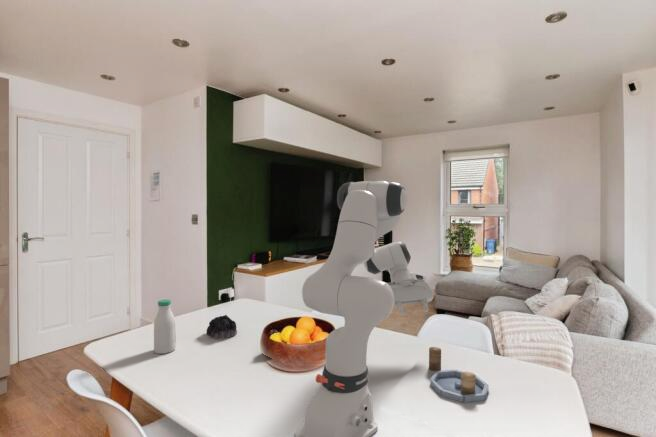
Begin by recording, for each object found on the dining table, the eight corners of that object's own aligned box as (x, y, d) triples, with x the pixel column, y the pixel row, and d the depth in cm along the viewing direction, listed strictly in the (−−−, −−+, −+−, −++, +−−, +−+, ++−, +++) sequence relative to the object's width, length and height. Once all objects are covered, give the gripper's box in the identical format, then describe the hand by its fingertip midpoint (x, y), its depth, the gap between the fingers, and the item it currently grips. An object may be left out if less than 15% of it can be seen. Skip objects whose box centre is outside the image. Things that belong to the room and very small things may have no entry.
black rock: (213, 330, 161) (211, 310, 160) (242, 328, 161) (239, 307, 160) (202, 343, 148) (199, 321, 147) (233, 341, 148) (231, 319, 146)
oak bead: (473, 399, 101) (474, 379, 100) (459, 395, 103) (459, 375, 103) (476, 393, 104) (476, 373, 104) (462, 389, 106) (463, 370, 106)
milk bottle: (175, 352, 135) (174, 302, 134) (153, 355, 132) (152, 304, 131) (176, 345, 142) (175, 297, 141) (155, 348, 139) (154, 299, 138)
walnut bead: (438, 375, 117) (439, 352, 117) (427, 372, 119) (427, 349, 119) (442, 371, 121) (442, 348, 120) (430, 368, 123) (431, 345, 122)
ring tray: (481, 412, 96) (481, 402, 96) (425, 394, 105) (425, 385, 105) (491, 387, 110) (491, 378, 109) (440, 373, 119) (440, 365, 118)
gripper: (382, 279, 135) (393, 311, 127) (428, 275, 141) (441, 306, 132) (377, 287, 140) (388, 318, 131) (422, 284, 146) (435, 313, 137)
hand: (415, 312), depth 132 cm, fingers open, 8 cm apart
